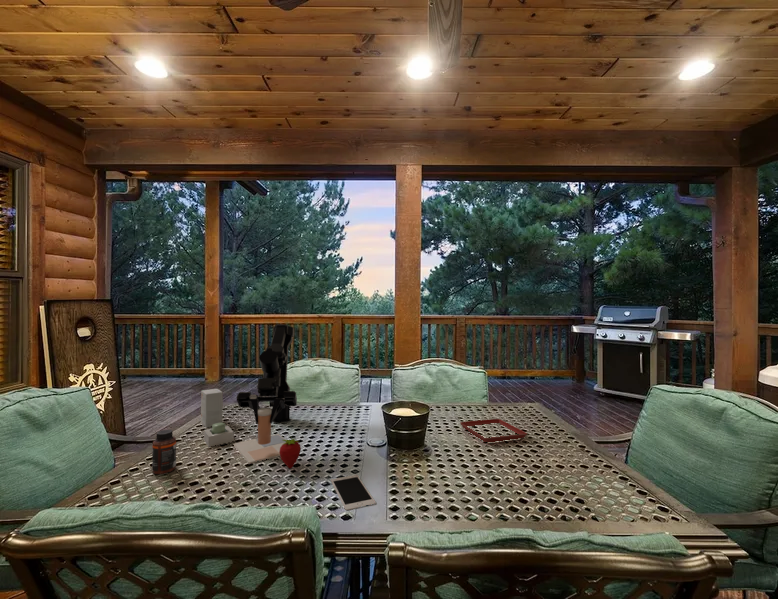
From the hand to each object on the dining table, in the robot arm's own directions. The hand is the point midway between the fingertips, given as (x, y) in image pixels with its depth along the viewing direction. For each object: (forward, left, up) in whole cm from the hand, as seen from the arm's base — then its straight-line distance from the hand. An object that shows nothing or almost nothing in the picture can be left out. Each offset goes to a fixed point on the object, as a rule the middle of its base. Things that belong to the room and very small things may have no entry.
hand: (263, 423), depth 118 cm
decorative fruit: (-4, +13, -11) cm, 17 cm away
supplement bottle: (+26, -7, -11) cm, 29 cm away
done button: (+8, -22, -8) cm, 25 cm away
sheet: (-3, -6, -11) cm, 13 cm away
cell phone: (-12, +35, -11) cm, 38 cm away
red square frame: (-76, +31, -11) cm, 83 cm away
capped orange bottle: (-1, -1, -7) cm, 7 cm away
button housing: (+8, -22, -11) cm, 26 cm away
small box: (+6, -43, -11) cm, 45 cm away
